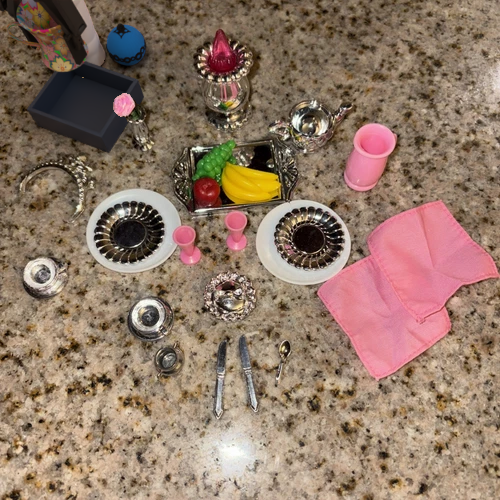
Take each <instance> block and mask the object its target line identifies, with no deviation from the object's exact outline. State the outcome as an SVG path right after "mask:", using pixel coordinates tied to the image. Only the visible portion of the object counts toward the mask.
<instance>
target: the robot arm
mask: <svg viewBox="0 0 500 500" xmlns="http://www.w3.org/2000/svg"><path fill="white" fill-rule="evenodd" d="M33 1H34V2H38V3H40V5H41V6H42V7H43V8H44V9H45V10H46V12H47V13H48V14H49V15H50V16H51V18H52V19H53V20H54V21H55V22H56V23H57V25H60V26H61V29H62V31H63V32H64V35H63V38H64V40H65V42H66V44H67V46H68V48H69V50H70V52H71V54H72V57H73V59H74V61H75V63H76V64H77V65H80V64H81V63H82V62H83V60H84V59H85V57H86V56H87V52H86V50H85V48H84V46H83V45H84V41H83V39H82V37H81V34H82V33H83V32H84V30H85V29H86V27H87V25H86V23H85V21H84V20H83V18H82V16H81V15H80V13H79V11H78V10H77V8H76V6H75V5H74V3H73V1H72V0H33ZM21 2H22V0H0V12H3V13H4V12H6V13H7V14H8V15H9V17H11V18H12V19H14V22H18V20H17V8H18V6H19V4H20V3H21ZM17 27H18V28H19V30H20V31H21V32H22V34H23V35H24V37H25V40H26V41H29V42H34V43H39V42H38V41H37V39H36V38H35V37H34V36H33V35H32V34H31V33H30V32H29V31H28V30H26V29H25V28H24V27H22V26H17ZM30 48H31V49H32V50H36V51H37V47H36V46H30Z"/></svg>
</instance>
